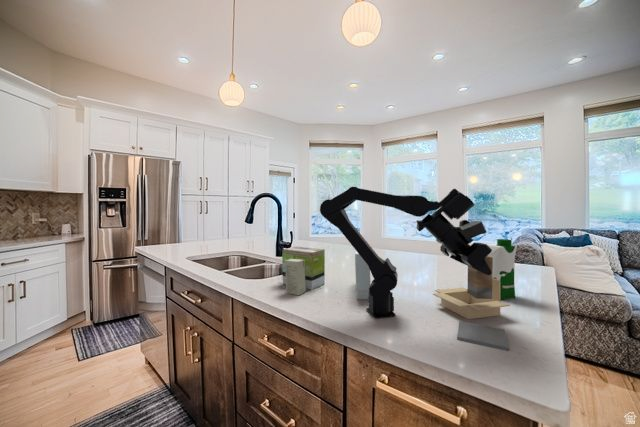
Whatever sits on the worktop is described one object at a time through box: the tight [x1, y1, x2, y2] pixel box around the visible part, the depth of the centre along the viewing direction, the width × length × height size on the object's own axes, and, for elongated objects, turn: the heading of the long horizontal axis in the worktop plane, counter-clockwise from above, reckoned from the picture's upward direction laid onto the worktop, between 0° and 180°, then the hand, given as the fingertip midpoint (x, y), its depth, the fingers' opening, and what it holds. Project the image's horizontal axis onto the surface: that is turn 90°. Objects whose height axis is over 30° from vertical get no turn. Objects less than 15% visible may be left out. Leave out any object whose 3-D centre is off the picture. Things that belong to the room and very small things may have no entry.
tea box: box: [281, 246, 326, 291], centre depth 109 cm, size 15×10×15 cm, turn 58°
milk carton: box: [486, 238, 518, 301], centre depth 93 cm, size 9×9×20 cm
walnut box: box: [466, 256, 493, 299], centre depth 73 cm, size 4×5×11 cm
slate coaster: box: [456, 320, 510, 351], centre depth 64 cm, size 10×10×1 cm
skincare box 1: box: [285, 259, 307, 296], centre depth 98 cm, size 6×4×12 cm
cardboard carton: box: [432, 278, 511, 320], centre depth 80 cm, size 14×17×10 cm
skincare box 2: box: [354, 249, 372, 301], centre depth 100 cm, size 21×5×16 cm, turn 172°
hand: (484, 271), depth 72 cm, fingers closed on walnut box, 5 cm apart
